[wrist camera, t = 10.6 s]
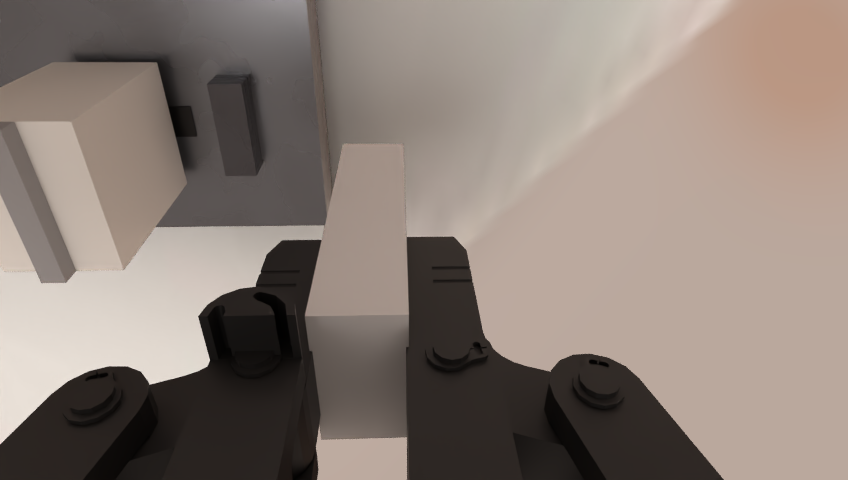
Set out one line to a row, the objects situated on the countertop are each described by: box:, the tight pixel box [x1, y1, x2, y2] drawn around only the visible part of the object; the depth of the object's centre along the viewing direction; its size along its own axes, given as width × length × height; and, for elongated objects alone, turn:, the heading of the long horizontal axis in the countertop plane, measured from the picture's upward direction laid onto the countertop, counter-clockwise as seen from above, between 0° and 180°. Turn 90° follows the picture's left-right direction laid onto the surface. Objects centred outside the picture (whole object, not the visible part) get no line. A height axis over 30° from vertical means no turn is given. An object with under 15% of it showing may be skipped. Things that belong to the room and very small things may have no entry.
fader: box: [0, 62, 187, 283], centre depth 15 cm, size 4×3×6 cm
